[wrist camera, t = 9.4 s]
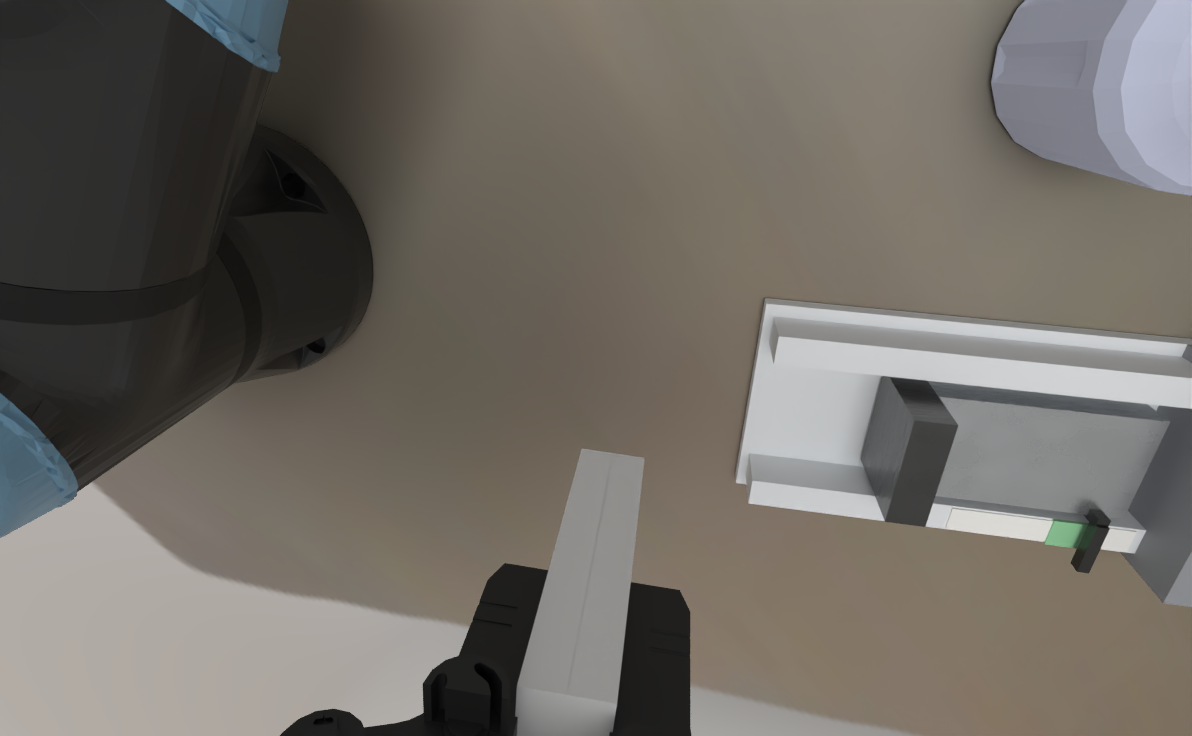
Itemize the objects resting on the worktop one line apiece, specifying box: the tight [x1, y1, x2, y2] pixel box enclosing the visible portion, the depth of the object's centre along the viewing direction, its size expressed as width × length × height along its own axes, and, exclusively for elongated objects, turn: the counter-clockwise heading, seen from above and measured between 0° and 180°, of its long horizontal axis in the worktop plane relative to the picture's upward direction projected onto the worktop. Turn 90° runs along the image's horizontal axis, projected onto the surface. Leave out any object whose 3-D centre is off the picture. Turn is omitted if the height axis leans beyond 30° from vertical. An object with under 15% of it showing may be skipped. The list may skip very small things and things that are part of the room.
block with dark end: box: [861, 376, 1170, 573], centre depth 36 cm, size 13×9×6 cm
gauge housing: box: [735, 298, 1192, 607], centre depth 36 cm, size 24×12×7 cm, turn 87°
